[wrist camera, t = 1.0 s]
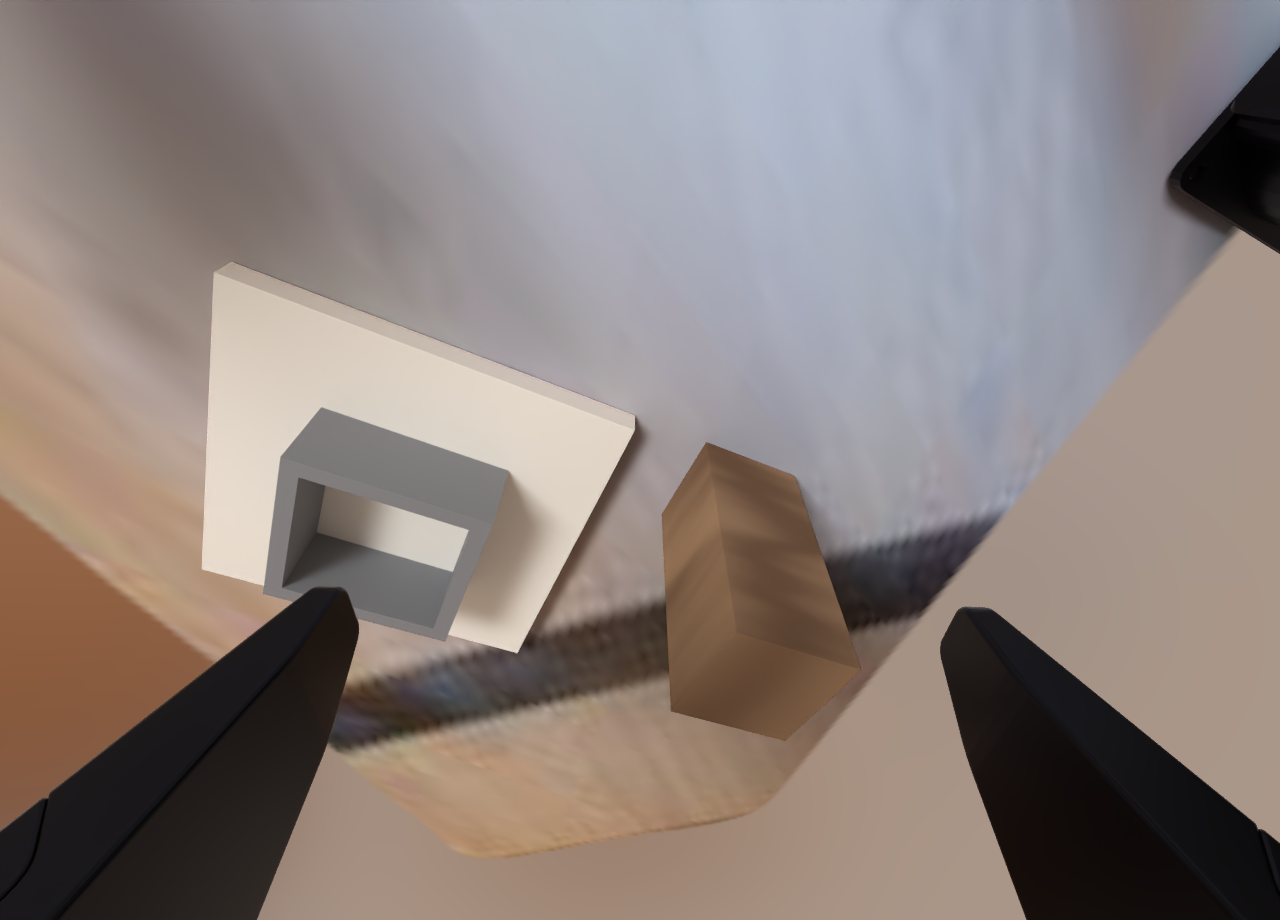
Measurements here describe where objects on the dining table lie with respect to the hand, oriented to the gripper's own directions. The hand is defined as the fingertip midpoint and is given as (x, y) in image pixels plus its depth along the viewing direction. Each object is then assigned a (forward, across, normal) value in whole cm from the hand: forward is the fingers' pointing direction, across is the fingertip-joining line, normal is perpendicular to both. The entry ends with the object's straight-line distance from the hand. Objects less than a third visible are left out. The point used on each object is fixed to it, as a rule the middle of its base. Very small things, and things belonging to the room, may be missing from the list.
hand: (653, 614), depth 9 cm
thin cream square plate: (+13, +9, +9) cm, 18 cm away
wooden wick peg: (+13, -4, +8) cm, 16 cm away
